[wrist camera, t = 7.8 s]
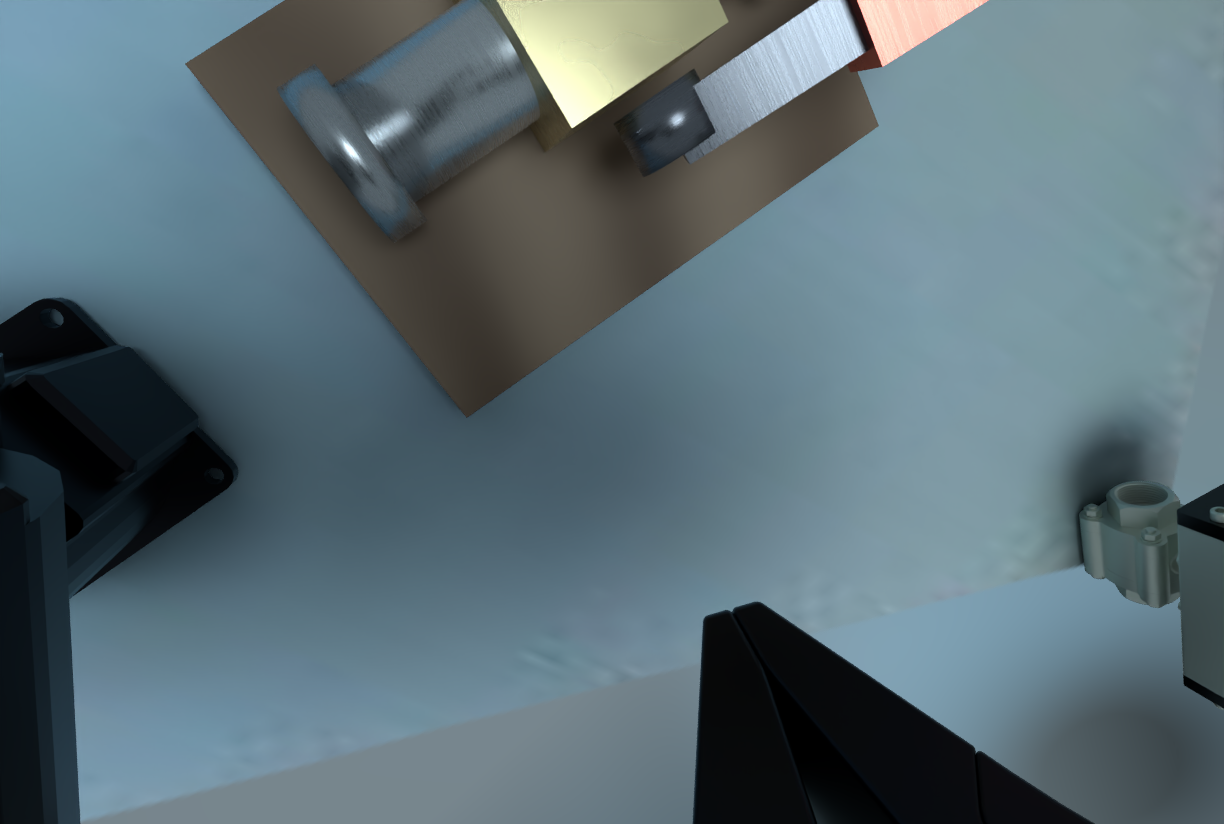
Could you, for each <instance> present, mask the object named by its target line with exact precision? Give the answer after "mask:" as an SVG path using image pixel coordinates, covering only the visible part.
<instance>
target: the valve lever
mask: <svg viewBox="0 0 1224 824" xmlns="http://www.w3.org/2000/svg"><path fill="white" fill-rule="evenodd" d="M986 1H988V0H818V1H817V2H815V3H814V4H812V5H811V6H809V7H808V8H806V9H805V10H803V11H802V12H800V13H799V14H797V15H796V16H794V17H793V18H792V19H790V20H789V21H787V22H786V23H784V24H783V25H781V26H780V27H778V28H777V29H775V30H774V31H772V32H771V33H769V34H768V35H766V36H765V37H764V38H762V39H761V40H759V41H758V42H756V43H755V44H753V45H752V46H750V47H749V48H747V49H746V50H744V51H743V52H741V53H740V54H738V55H737V56H736V57H734V58H733V59H731V60H730V61H728V62H727V63H725V64H724V65H722V66H721V67H719V68H718V69H716V70H715V71H713V72H712V73H710V74H709V75H707V76H706V77H705V78H703V79H702V80H700V78H699V76H698V74H697V72H696V70H695V68H694V69H692V70H691V71H689V72H688V73H686V74H685V75H683V76H682V77H680V78H679V79H677V80H676V81H674V82H673V83H671V84H670V85H668V86H667V87H666V88H664V89H663V90H661V91H660V92H658V93H657V94H655V95H654V96H652V97H651V98H649V99H648V100H647V101H645V102H644V103H642V104H641V105H639V106H638V107H636V108H635V109H634V110H632V111H631V112H629V113H628V114H626V115H625V116H623V117H622V118H621V119H619V120H618V121H616V122H615V123H614V126H615V128H616V129H617V131H618V133H619V135H620V136H621V138H622V140H623V142H624V144H625V145H626V147H627V149H628V151H629V152H630V154H631V156H632V158H633V160H634V161H635V163H636V165H637V167H638V169H639V170H640V172H641V174H642V176H643V177H645V176H648V175H650V174H652V173H654V172H656V171H658V170H660V169H661V168H663V167H665V166H667V165H668V164H670V163H672V162H673V161H675V160H676V159H678V158H680V157H681V156H684V158H685V160H686V161H687V162H688V163H689V164H692V163H694V162H695V161H697V160H698V159H700V158H701V157H703V156H705V155H706V154H708V153H709V152H711V151H712V150H714V149H715V148H717V147H719V146H720V145H722V144H723V143H725V142H726V141H728V140H729V139H731V138H733V137H734V136H736V135H737V134H739V133H740V132H742V131H744V130H745V129H747V128H748V127H750V126H751V125H753V124H754V123H756V122H758V121H759V120H761V119H762V118H764V117H765V116H767V115H768V114H770V113H772V112H773V111H775V110H776V109H778V108H779V107H781V106H783V105H784V104H786V103H787V102H789V101H790V100H792V99H793V98H795V97H797V96H798V95H800V94H801V93H803V92H804V91H806V90H807V89H809V88H811V87H812V86H814V85H815V84H817V83H818V82H820V81H821V80H823V79H825V78H826V77H828V76H829V75H831V74H832V73H834V72H836V71H837V70H839V69H840V68H842V67H843V66H845V65H846V64H847V65H848V68H849V70H850V73H852V72H857V71H862V70H867V69H873V68H878V67H883V66H884V65H886V64H888V63H889V62H891V61H892V60H894V59H896V58H897V57H899V56H900V55H902V54H903V53H905V52H907V51H908V50H910V49H911V48H913V47H915V46H916V45H918V44H919V43H921V42H923V41H924V40H926V39H927V38H929V37H930V36H932V35H934V34H935V33H937V32H938V31H940V30H942V29H943V28H945V27H946V26H948V25H950V24H951V23H953V22H954V21H956V20H957V19H959V18H961V17H962V16H964V15H965V14H967V13H969V12H970V11H972V10H973V9H975V8H977V7H978V6H980V5H981V4H983V3H984V2H986Z"/></svg>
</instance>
